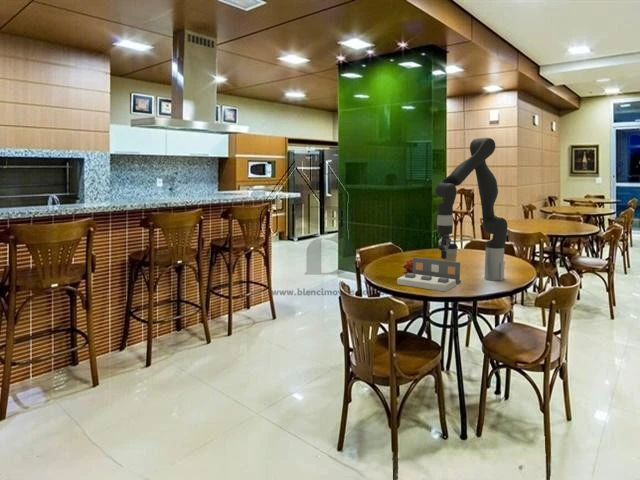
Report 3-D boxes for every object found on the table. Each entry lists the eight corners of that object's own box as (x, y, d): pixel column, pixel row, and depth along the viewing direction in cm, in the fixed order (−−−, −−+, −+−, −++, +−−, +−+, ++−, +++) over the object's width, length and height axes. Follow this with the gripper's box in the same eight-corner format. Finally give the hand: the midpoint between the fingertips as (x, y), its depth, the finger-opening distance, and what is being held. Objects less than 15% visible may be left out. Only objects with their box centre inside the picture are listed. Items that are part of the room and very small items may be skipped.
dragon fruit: (425, 275, 257) (404, 278, 256) (420, 264, 263) (400, 267, 262) (426, 265, 251) (405, 269, 250) (421, 254, 257) (401, 258, 256)
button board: (455, 285, 228) (456, 279, 228) (445, 291, 217) (445, 285, 217) (409, 278, 243) (409, 273, 243) (397, 284, 232) (397, 278, 232)
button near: (448, 284, 225) (448, 278, 225) (445, 285, 222) (445, 279, 221) (440, 282, 227) (441, 277, 227) (437, 284, 224) (437, 278, 224)
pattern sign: (461, 282, 234) (461, 261, 233) (457, 284, 230) (457, 263, 228) (415, 275, 250) (415, 256, 248) (410, 277, 245) (410, 258, 243)
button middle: (431, 281, 230) (431, 275, 230) (428, 283, 227) (428, 277, 227) (424, 280, 233) (424, 274, 232) (421, 282, 230) (421, 276, 229)
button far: (415, 279, 236) (415, 273, 235) (412, 280, 233) (412, 275, 232) (408, 278, 238) (408, 272, 238) (405, 279, 235) (405, 274, 234)
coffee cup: (459, 268, 265) (460, 243, 263) (454, 271, 257) (455, 246, 255) (443, 266, 270) (444, 242, 268) (438, 270, 262) (439, 244, 260)
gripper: (447, 225, 212) (446, 261, 215) (457, 223, 223) (455, 257, 226) (432, 225, 217) (431, 259, 220) (442, 222, 227) (441, 255, 230)
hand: (443, 258), depth 223 cm, fingers closed
